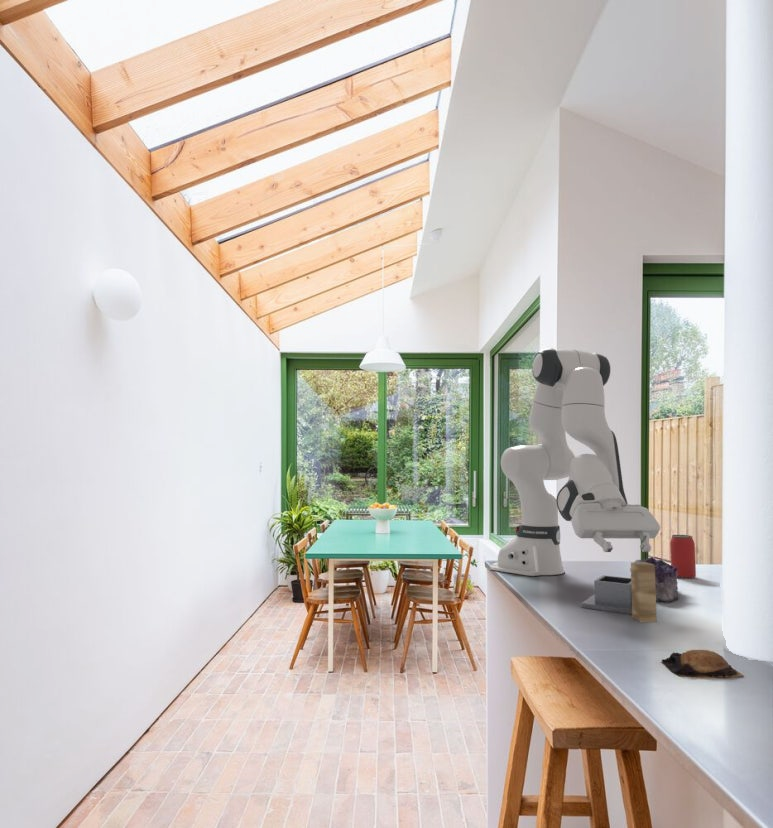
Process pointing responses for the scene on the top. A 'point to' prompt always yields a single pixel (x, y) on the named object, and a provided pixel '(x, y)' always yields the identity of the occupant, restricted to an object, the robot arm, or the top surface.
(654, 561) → the geode
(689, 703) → the top surface
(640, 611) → the wooden block
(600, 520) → the robot arm
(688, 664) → the brown domed piece
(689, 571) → the beer can
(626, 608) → the grey open box
